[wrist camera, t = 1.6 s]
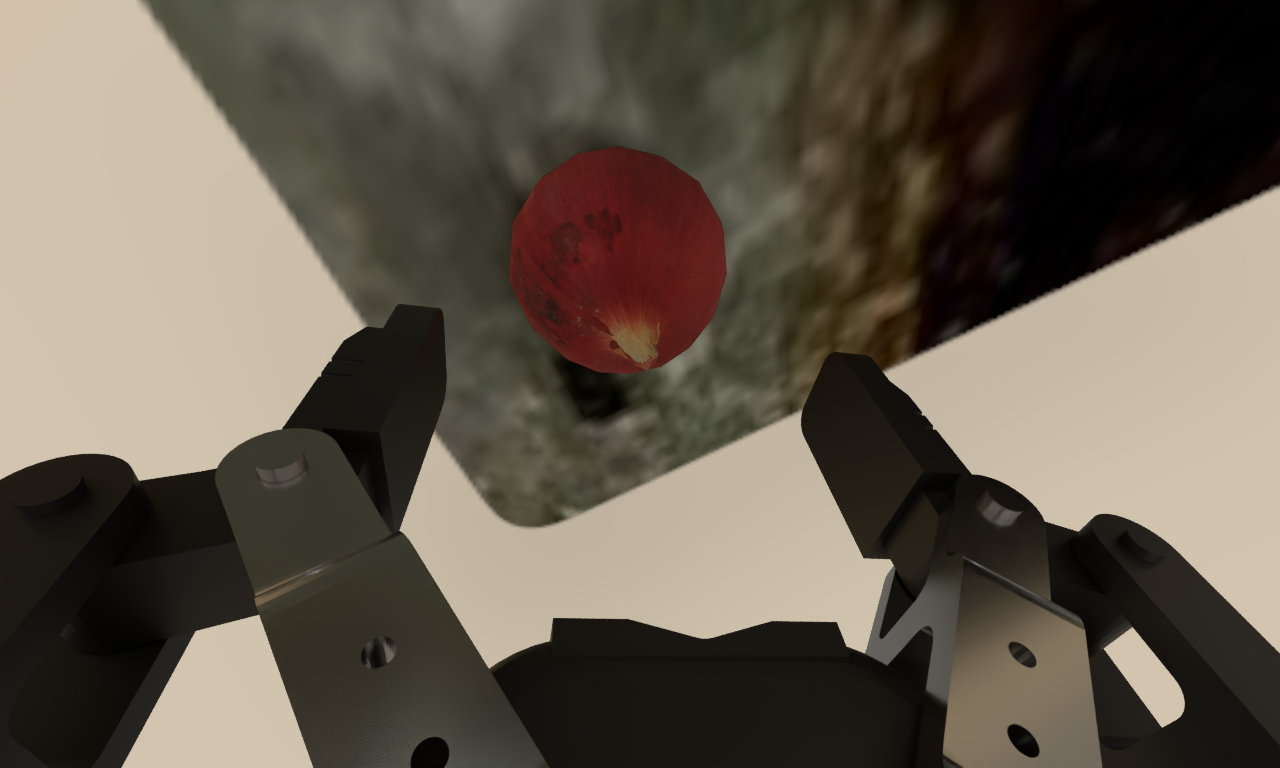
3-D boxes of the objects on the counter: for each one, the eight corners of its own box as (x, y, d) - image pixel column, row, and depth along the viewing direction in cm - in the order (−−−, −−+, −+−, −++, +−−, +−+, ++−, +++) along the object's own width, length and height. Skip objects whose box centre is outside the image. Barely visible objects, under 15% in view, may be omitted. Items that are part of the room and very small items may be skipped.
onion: (518, 283, 18) (485, 440, 12) (528, 103, 15) (489, 191, 9) (677, 304, 20) (723, 458, 13) (720, 139, 16) (809, 241, 10)
